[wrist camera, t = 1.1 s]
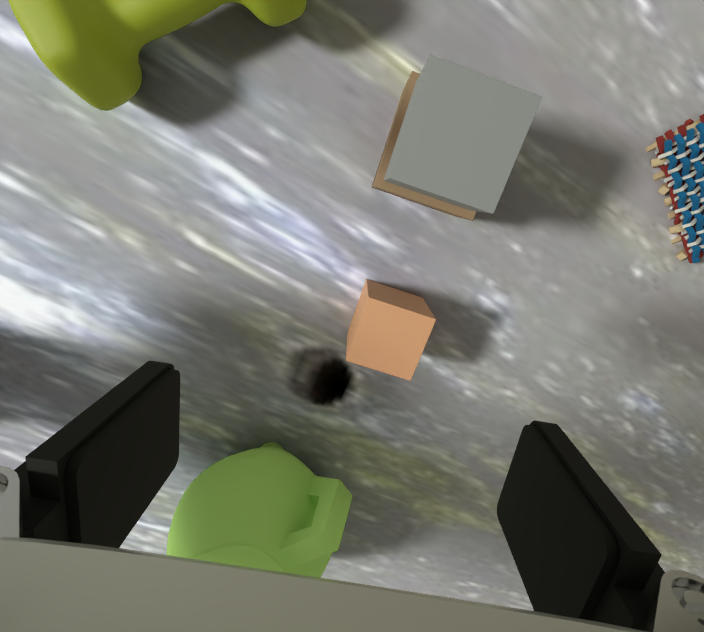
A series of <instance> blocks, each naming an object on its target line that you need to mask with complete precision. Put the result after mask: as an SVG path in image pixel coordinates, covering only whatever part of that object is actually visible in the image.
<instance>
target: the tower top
mask: <svg viewBox="0 0 704 632" xmlns="http://www.w3.org/2000/svg"><path fill="white" fill-rule="evenodd" d="M541 99H542V96H539V95H537V94H534V93H531V92H529V91H526V90H523V89H521V88H518V87H515V86H513V85H510V84H507V83H505V82H502V81H499V80H497V79H494V78H491V77H489V76H486V75H484V74H481V73H478V72H476V71H473V70H470V69H468V68H465V67H462V66H460V65H457V64H454V63H452V62H449V61H446V60H444V59H441V58H438V57H436V56H433V55H430V57H429V59H428V61H427V62H426V64H425V66H424V68H423V70H422V72H421V73H420V75H419V77H418V79H417V81H416V83H415V86H414V89H413V92H412V95H411V98H410V101H409V104H408V108H407V111H406V114H405V117H404V120H403V123H402V126H401V129H400V132H399V135H398V138H397V141H396V144H395V147H394V150H393V153H392V156H391V159H390V162H389V165H388V168H387V171H386V174H385V177H384V180H383V181H386V182H389V183H392V184H395V185H397V186H400V187H403V188H406V189H409V190H412V191H415V192H418V193H421V194H424V195H426V196H429V197H432V198H435V199H438V200H441V201H444V202H447V203H450V204H453V205H455V206H458V207H461V208H464V209H467V210H472V211H478V212H484V213H490V214H493V213H494V211H495V209H496V206H497V204H498V201H499V199H500V197H501V194H502V192H503V190H504V187H505V185H506V182H507V180H508V178H509V175H510V173H511V170H512V168H513V166H514V163H515V161H516V159H517V156H518V154H519V151H520V149H521V147H522V144H523V142H524V139H525V137H526V135H527V132H528V130H529V128H530V125H531V123H532V120H533V118H534V116H535V113H536V111H537V108H538V106H539V104H540V101H541Z"/></svg>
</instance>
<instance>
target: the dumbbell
mask: <svg viewBox="0 0 704 632" xmlns="http://www.w3.org/2000/svg"><path fill="white" fill-rule="evenodd" d="M230 2H235V3H239V4H241V5H244V6H245V7H247V8H248V9H249V10H250V11H251V12H252V13H253V14H254V15H255V16H256V17H257V18H258V19H259V20H261V21H262V22H264V23H265V24H267V25H270V26H275V27H278V26H281V25H284V24H287V23H289V22H291V21H293V20H295V19H297V18H299V17H300V16H301V15H302V14H303V13H304V11H305V8H306V5H307V0H9V3H10V6H11V8H12V10H13V13H14V15H15V17H16V19H17V20H18V22H19V24H20V26H21V28H22V29H23V31H24V33H25V35H26V36H27V38H28V40H29V42H30V44H31V45H32V47H33V49H34V50H35V52H36V53H37V55H38V56H39V58H40V59H41V61H42V62H43V63H44V64H45V66H46V67H47V68H48V69H49V70H50V71H51V72H52V73H53V74H54V75H55V76H56V77H57V78H58V79H60V80H61V81H62V82H63V83H64V84H65V85H67V86H68V87H69V88H70V89H71V90H73V91H74V92H75V93H76V94H77V95H79V96H80V97H81V98H82V99H84V100H85V101H86V102H88V103H89V104H90V105H92V106H94V107H96V108H98V109H100V110H106V111H108V110H112V109H114V108H116V107H118V106H120V105H122V104H124V103H126V102H127V101H129V100H130V99H131V98H132V97H133V96H134V95H135V94H136V92H137V91H138V90H139V88H140V85H141V81H142V71H141V66H140V63H139V59H138V56H139V52H140V50H141V48H142V47H143V46H144V45H145V44H147V43H148V42H151V41H153V40H155V39H158V38H160V37H163V36H165V35H167V34H169V33H171V32H173V31H175V30H177V29H180V28H182V27H184V26H186V25H187V24H189V23H191V22H193V21H195V20H197V19H199V18H200V17H202V16H204V15H206V14H208V13H209V12H211V11H212V10H214V9H216V8H217V7H219V6H221V5H223V4H225V3H230Z"/></svg>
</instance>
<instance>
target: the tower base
mask: <svg viewBox="0 0 704 632" xmlns="http://www.w3.org/2000/svg"><path fill="white" fill-rule="evenodd" d="M419 75H420V74H419V73H416V72H414V71H412V73H411V75H410V77H409V79H408V81H407V83H406V86H405V88H404V90H403V93H402V96H401V99H400V102H399V105H398V108H397V111H396V114H395V117H394V120H393V123H392V126H391V129H390V132H389V135H388V138H387V142H386V145H385V148H384V151H383V154H382V157H381V160H380V163H379V166H378V169H377V172H376V175H375V178H374V181H373V184H372V188H375V189H378V190H381V191H384V192H387V193H390V194H392V195H395V196H398V197H401V198H404V199H407V200H410V201H413V202H416V203H418V204H421V205H424V206H427V207H430V208H433V209H436V210H439V211H441V212H444V213H447V214H450V215H453V216H456V217H460V218H464V219H468V220H472V221H473V219H474V216H475V214H476V211H472V210H467V209H464V208H461V207H458V206H455V205H453V204H450V203H447V202H444V201H441V200H438V199H435V198H432V197H429V196H426V195H424V194H421V193H418V192H415V191H412V190H409V189H406V188H403V187H400V186H397V185H395V184H392V183H389V182H386V181H383V180H384V177H385V174H386V171H387V168H388V165H389V162H390V159H391V156H392V153H393V150H394V147H395V144H396V141H397V138H398V135H399V132H400V129H401V126H402V123H403V120H404V117H405V114H406V111H407V108H408V104H409V101H410V98H411V95H412V92H413V89H414V86H415V83H416V81H417V79H418V77H419Z"/></svg>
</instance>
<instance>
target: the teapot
mask: <svg viewBox="0 0 704 632" xmlns="http://www.w3.org/2000/svg"><path fill="white" fill-rule="evenodd" d="M352 497H353V495H352V494H351V493H350V492H349V490H348V489H347V488H346V487H345V485H344V484H343V483H342V481H341V480H340V479H334V478H327V477H320V476H316V475H315V474H314V473H313V472H312V471H311V470H310V469H309V468H308V467H307V466H306V465H305V464H303V463H302V462H301V461H300V460H299V459H298V458H296V457H295V456H293V455H292V454H291V453H289V452H287V451H285V450H284V449H283V448H282V446H281V445H279V444H278V443H275V442H267V443H264V444H263V445H261V447H260V448H254V449H250V450H246V451H243V452H239V453H236V454H234V455H231V456H228V457H226V458H224V459H221V460H220V461H218V462H216V463H214V464H213V465H211V466H210V467H208V468H207V469H206V470H204V471H203V472H202V473H201V474H200V475H199V476H198V477H197V478H195V479H194V481H193V482H192V483H191V484H190V485H189V487H188V488H187V490H186V491H185V492H184V494H183V496H182V498H181V500H180V502H179V504H178V506H177V508H176V511H175V513H174V516H173V520H172V523H171V527H170V530H169V535H168V541H167V555H170V556H177V557H183V558H190V559H197V560H204V561H211V562H218V563H224V564H231V565H238V566H245V567H252V568H259V569H265V570H272V571H279V572H286V573H292V574H299V575H305V576H312V577H319V578H320V577H321V575H322V573H323V572H324V570H325V568H326V566H327V564H328V561H329V559H330V557H331V554H332V553H333V552H336V551H338V550H339V546H340V542H341V538H342V535H343V531H344V527H345V523H346V520H347V516H348V512H349V509H350V505H351V501H352Z"/></svg>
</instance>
